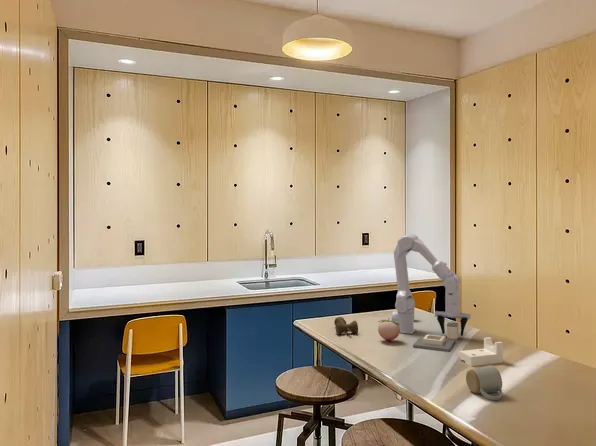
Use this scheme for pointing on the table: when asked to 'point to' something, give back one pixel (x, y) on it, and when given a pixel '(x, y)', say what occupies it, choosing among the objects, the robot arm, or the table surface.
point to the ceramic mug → (485, 381)
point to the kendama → (345, 326)
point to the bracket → (484, 354)
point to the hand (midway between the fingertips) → (452, 334)
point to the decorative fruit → (389, 329)
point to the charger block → (452, 330)
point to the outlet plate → (434, 343)
